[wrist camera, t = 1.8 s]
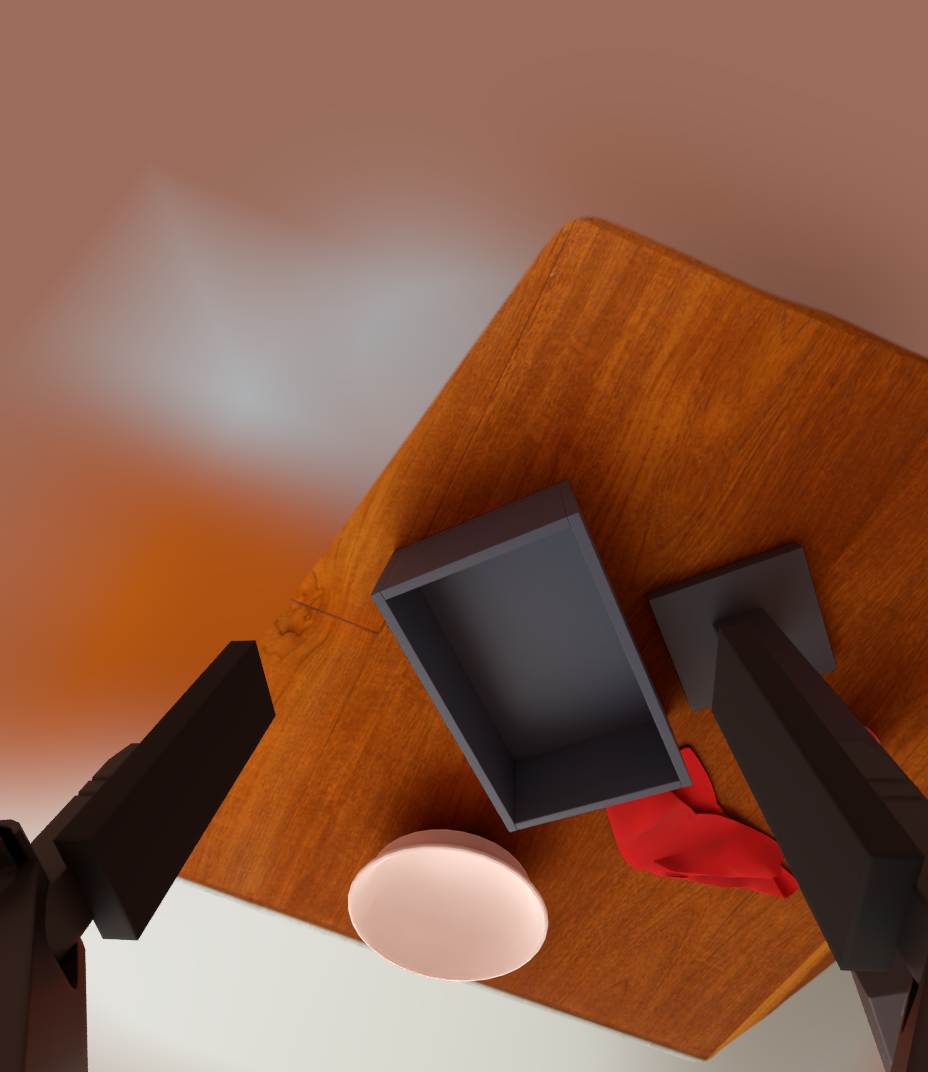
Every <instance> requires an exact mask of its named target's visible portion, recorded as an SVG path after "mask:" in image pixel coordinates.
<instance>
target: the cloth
mask: <svg viewBox="0 0 928 1072" xmlns="http://www.w3.org/2000/svg"><path fill="white" fill-rule="evenodd" d="M680 752H681V754H682V757H683V760H684V762H685V765H686V767H687V770H688V773H689V775H690V778H691V780H692V783H693V785H690V786H686V787H683V786H682V788H678V789H674V790H670V791H666V792H662V793H659V794H655V795H651V796H647V797H643V798H639V799H635V800H632V801H628V802H624V803H620V804H616V805H612V806H609V807H606V811H607V815H608V818H609V822H610V825H611V828H612V831H613V834H614V837H615V840H616V842H617V845H618V848H619V851H620V853H621V855H622V856H623V858H624V859H625V860H626V861H627V862H628V863H629V864H630V865H631V866H632V867H633V868H634V869H636V870H645V869H647V870H649V871H650V872H652V873H653V874H655V875H657V876H660V877H668V878H676V879H685V880H690V881H694V882H699V883H704V884H709V885H715V886H720V887H745V888H750V889H752V890H755V891H757V892H761V893H766V894H771V895H776V896H781V897H783V898H784V899H786V898H788V897H789V896H790V895H791V894H792V893H794V892H795V891H796V890H797V889H798V888H799V885H798V883H797V881H796V879H795V878H794V877H793V875H792V874H790V873H789V872H788V871H787V870H786V869H785V868H783V867H782V860H783V858H784V855H783V853H782V851H781V849H780V847H779V845H778V843H777V841H775V840H773V839H772V838H770V837H768V836H767V835H765V834H763V833H761V832H759V831H757V830H755V829H753V828H751V827H749V826H746V825H744V824H742V823H740V822H738V821H735V820H733V819H731V818H729V817H728V816H727V815H726V814H725V813H723V811H722V809H721V807H720V805H718V804H717V802H716V797H715V792H714V790H713V787H712V784H711V782H710V779H709V777H708V775H707V773H706V772H705V770H704V768H703V766H702V764H701V763H700V761H699V759H698V758H697V757H696V755H695V754H694V752H693V751H692V750H691V748H690V747H684V748H682V749H680Z"/></svg>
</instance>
